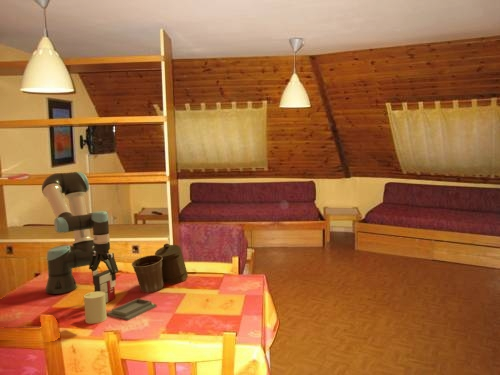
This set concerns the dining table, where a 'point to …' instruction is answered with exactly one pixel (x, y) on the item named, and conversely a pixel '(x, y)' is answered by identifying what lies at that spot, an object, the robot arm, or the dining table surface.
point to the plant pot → (149, 273)
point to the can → (95, 307)
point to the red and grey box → (104, 285)
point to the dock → (132, 309)
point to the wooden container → (172, 264)
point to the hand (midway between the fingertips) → (104, 285)
